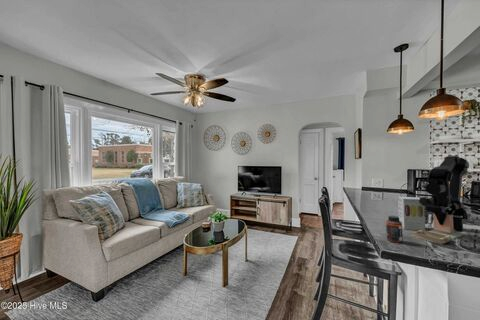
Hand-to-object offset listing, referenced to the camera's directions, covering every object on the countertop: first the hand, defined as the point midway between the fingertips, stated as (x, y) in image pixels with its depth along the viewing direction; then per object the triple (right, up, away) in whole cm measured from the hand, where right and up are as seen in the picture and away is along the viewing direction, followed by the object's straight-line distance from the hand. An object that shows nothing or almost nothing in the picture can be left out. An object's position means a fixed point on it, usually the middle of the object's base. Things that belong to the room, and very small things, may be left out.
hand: (443, 224), depth 102 cm
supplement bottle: (-31, -5, -8) cm, 32 cm away
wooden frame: (-12, -5, -6) cm, 14 cm away
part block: (0, -3, 0) cm, 3 cm away
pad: (0, -5, 0) cm, 5 cm away
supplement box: (-6, -6, +11) cm, 14 cm away
